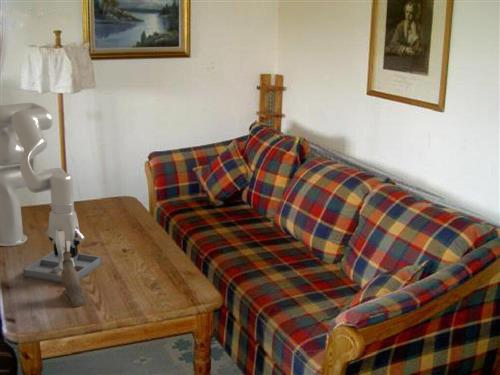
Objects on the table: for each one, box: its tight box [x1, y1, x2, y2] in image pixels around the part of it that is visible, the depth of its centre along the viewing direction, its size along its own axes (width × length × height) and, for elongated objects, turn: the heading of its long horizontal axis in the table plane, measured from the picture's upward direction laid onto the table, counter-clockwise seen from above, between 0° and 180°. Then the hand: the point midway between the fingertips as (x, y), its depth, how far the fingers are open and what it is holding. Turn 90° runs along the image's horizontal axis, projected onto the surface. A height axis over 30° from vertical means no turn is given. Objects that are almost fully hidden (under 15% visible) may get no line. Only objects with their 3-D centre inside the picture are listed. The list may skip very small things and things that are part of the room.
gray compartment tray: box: [23, 250, 103, 285], centre depth 239 cm, size 20×20×3 cm
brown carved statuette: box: [61, 251, 88, 308], centre depth 216 cm, size 12×6×18 cm, turn 32°
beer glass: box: [55, 230, 76, 270], centre depth 230 cm, size 7×7×15 cm
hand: (66, 254), depth 231 cm, fingers closed on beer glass, 6 cm apart
